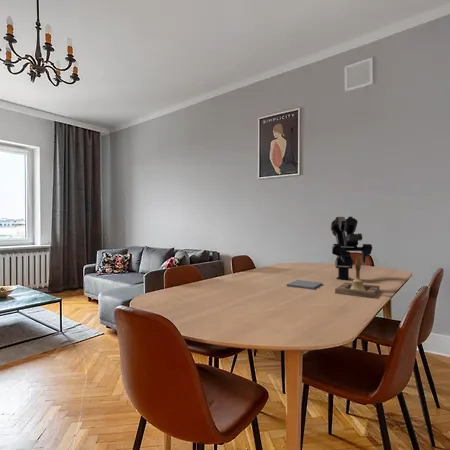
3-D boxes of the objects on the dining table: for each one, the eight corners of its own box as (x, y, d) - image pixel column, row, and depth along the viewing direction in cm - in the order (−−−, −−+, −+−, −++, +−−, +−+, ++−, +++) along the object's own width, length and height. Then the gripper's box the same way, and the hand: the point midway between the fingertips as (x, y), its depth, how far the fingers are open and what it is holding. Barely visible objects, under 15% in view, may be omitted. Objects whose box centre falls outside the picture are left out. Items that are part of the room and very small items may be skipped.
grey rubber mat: (297, 281, 172) (296, 279, 172) (322, 284, 164) (322, 282, 164) (286, 286, 161) (286, 284, 161) (313, 289, 153) (313, 287, 153)
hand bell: (348, 289, 153) (348, 256, 152) (366, 290, 150) (366, 257, 150) (348, 293, 145) (348, 258, 145) (368, 294, 142) (368, 259, 142)
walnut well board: (345, 286, 159) (345, 282, 159) (379, 290, 150) (379, 286, 150) (335, 293, 145) (335, 288, 145) (372, 297, 135) (372, 293, 135)
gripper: (332, 228, 161) (336, 251, 150) (371, 228, 158) (378, 252, 147) (330, 242, 169) (333, 265, 158) (367, 242, 165) (373, 266, 155)
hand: (354, 262), depth 154 cm, fingers open, 9 cm apart
